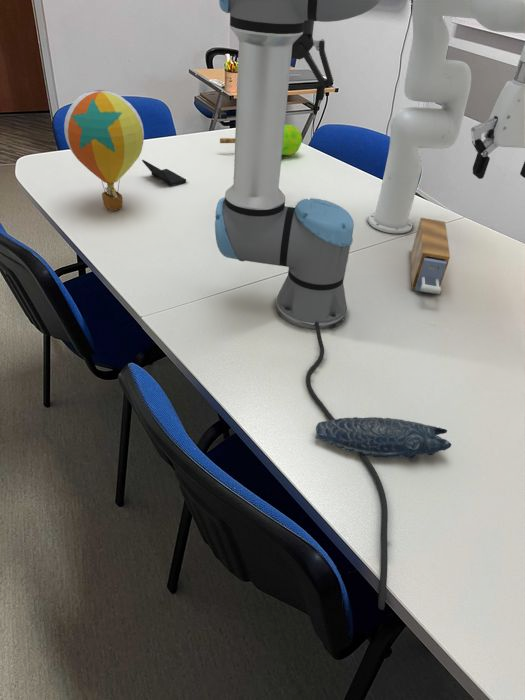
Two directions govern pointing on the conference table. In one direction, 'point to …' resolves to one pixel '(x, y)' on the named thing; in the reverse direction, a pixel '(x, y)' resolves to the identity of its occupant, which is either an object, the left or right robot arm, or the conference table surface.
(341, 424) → the fish model
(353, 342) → the conference table surface
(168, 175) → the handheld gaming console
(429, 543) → the conference table surface
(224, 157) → the conference table surface
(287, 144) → the decorative tree
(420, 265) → the tan wooden box
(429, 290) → the drawer
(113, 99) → the toy
